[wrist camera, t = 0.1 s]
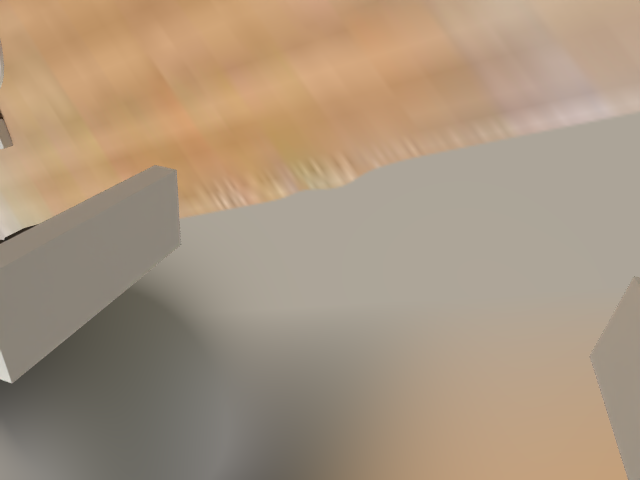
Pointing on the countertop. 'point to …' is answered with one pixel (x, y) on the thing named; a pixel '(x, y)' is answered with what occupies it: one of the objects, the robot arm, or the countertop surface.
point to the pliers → (3, 140)
